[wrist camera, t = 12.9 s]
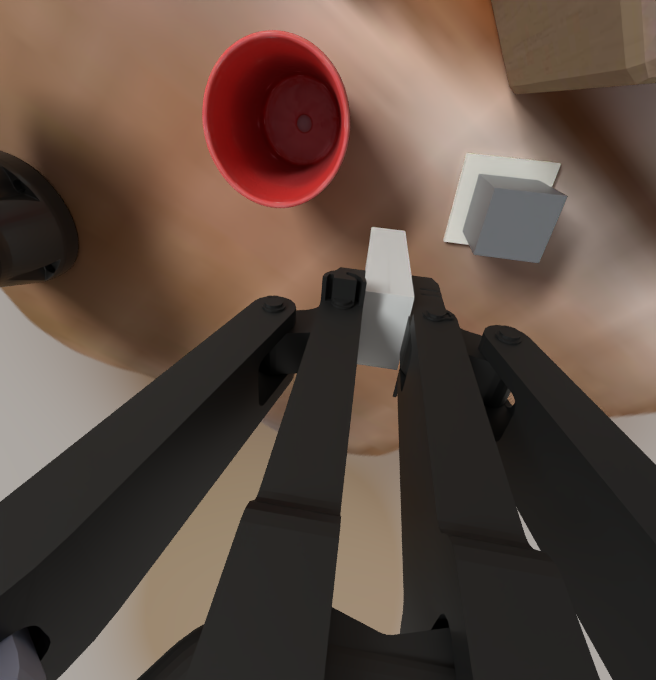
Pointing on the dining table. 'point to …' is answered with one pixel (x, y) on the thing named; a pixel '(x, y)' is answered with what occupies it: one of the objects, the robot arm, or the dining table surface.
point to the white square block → (491, 166)
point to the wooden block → (576, 43)
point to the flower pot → (276, 118)
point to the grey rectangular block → (512, 217)
